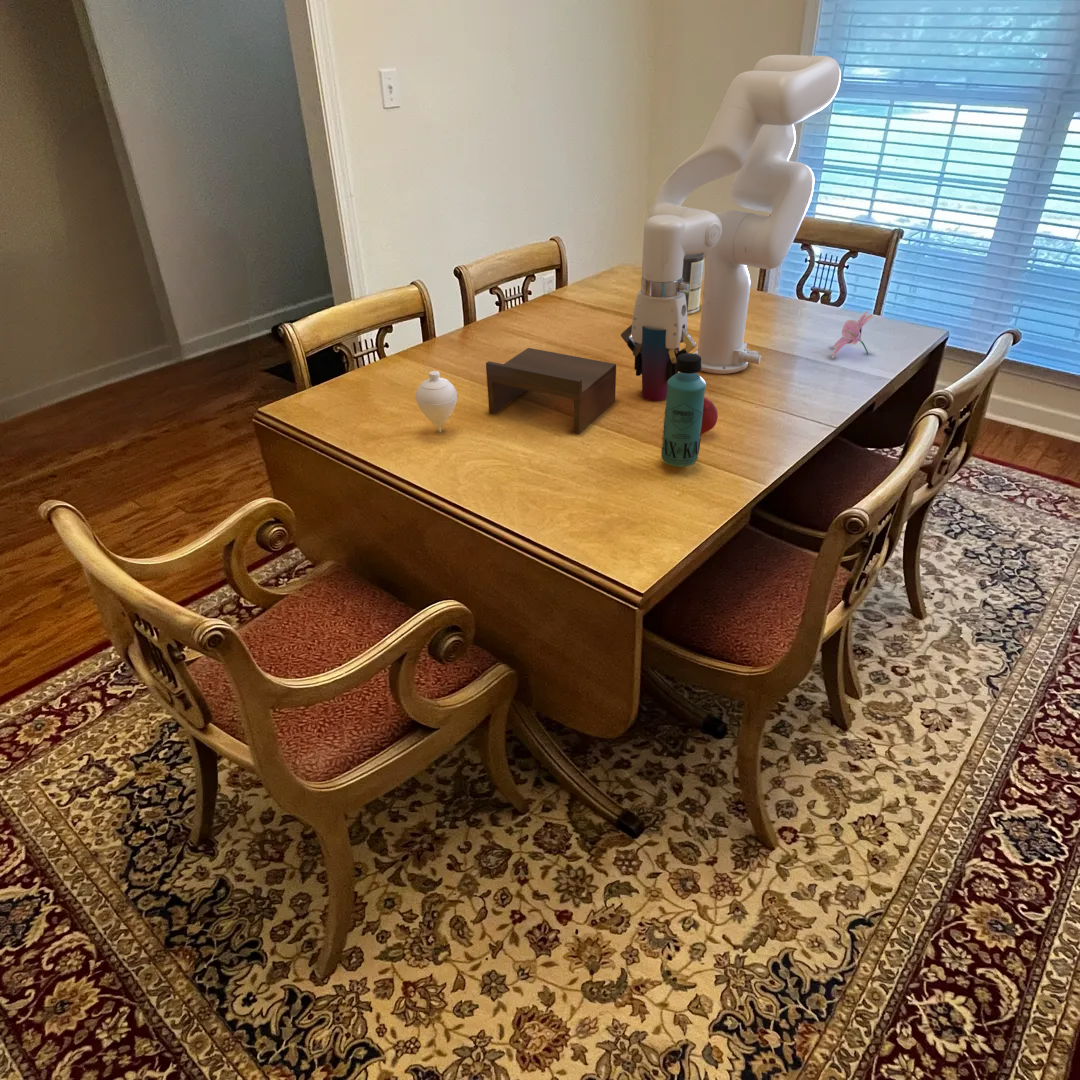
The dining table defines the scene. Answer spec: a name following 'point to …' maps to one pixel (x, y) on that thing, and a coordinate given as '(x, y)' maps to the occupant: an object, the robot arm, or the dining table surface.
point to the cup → (654, 364)
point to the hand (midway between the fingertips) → (655, 375)
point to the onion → (708, 416)
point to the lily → (852, 333)
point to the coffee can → (693, 280)
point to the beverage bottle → (683, 412)
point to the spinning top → (436, 399)
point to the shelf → (554, 382)
